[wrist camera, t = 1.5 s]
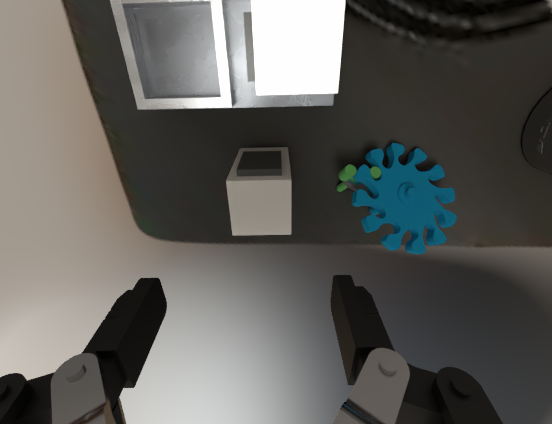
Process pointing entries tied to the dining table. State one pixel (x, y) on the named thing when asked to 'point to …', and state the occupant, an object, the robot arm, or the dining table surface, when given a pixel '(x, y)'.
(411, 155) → the blue spiky virus toy
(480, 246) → the dining table surface
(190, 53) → the base with upright block
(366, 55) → the dining table surface
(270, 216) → the block
